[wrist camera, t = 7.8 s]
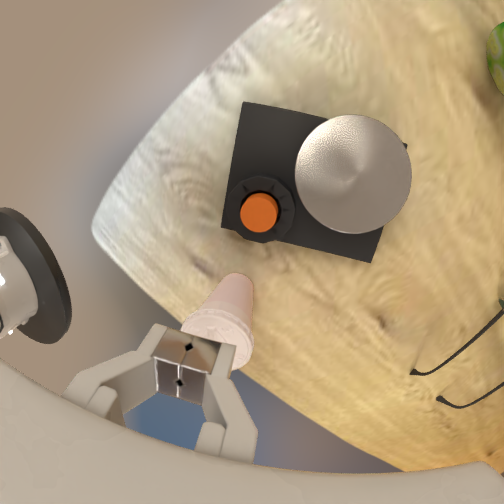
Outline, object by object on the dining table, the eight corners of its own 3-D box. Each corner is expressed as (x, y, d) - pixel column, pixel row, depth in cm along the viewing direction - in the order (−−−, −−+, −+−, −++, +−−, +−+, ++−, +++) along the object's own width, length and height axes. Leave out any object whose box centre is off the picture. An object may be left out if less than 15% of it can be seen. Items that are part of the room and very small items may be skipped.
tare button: (241, 221, 27) (237, 228, 25) (247, 189, 25) (243, 193, 24) (274, 229, 27) (272, 236, 25) (281, 197, 25) (280, 202, 24)
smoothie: (213, 311, 34) (171, 403, 22) (204, 261, 32) (148, 347, 19) (267, 312, 33) (247, 412, 21) (264, 260, 31) (238, 355, 18)
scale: (223, 223, 30) (216, 233, 27) (245, 102, 25) (239, 99, 22) (368, 257, 29) (374, 270, 26) (402, 143, 24) (414, 145, 21)
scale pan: (283, 215, 26) (282, 218, 25) (308, 101, 21) (308, 100, 21) (389, 243, 25) (391, 245, 24) (421, 136, 21) (424, 137, 20)
